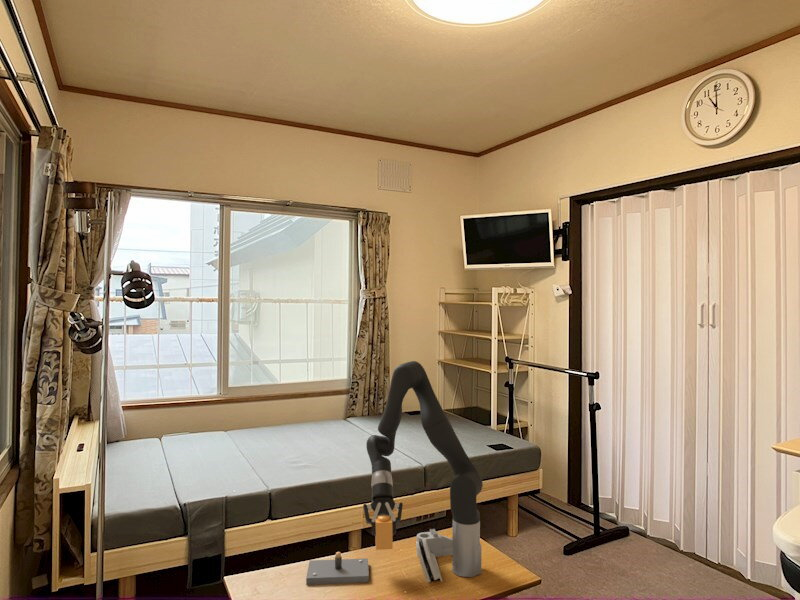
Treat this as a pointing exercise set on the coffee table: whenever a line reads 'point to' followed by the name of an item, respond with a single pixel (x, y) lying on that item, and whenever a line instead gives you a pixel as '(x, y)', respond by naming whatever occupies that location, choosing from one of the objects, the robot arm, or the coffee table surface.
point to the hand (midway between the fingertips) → (384, 534)
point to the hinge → (428, 561)
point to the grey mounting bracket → (436, 543)
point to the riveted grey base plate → (337, 571)
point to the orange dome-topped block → (383, 532)
